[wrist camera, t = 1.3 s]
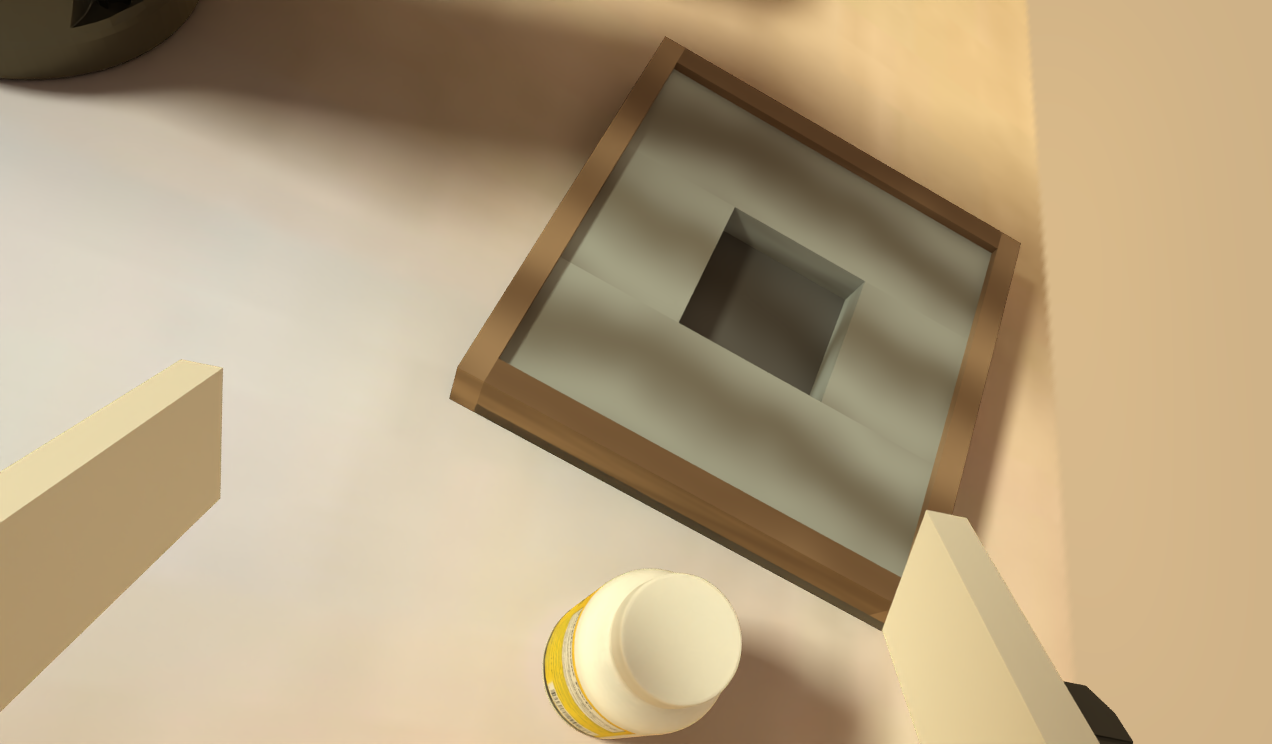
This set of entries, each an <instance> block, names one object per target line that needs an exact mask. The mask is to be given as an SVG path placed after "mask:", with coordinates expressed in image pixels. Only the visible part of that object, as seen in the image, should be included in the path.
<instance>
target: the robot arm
mask: <svg viewBox="0 0 1272 744" xmlns="http://www.w3.org/2000/svg"><path fill="white" fill-rule="evenodd" d="M198 1H199V0H0V78H6V79H52V78H62V77H70V76H76V75H82V74H87V73H91V72H95V71H100V70H103V69H106V68H110V67H113V66H116V65H119V64H121V63H124V62H126V61H129V60H131V59H133V58H136V57H138V56H140V55H142V54H143V53H145V52H147V51H149V50H151V49H152V48H154V47H156V46H157V45H159V44H160V43H161V42H163V41H164V40H166V39H167V38H168V37H169V36H171V35H172V34H173V33H174V32H175V31H176V30H177V29H178V28H179V27H180V26H181V25H182V24H183V23H184V22H185V21H186V19H187V18H188V17H189V16H190V14H191V13H192V11H193V10H194V8H195V7H196V5H197V3H198ZM222 383H223V368H221V367H216V366H211V365H206V364H201V363H196V362H191V361H186V360H182V359H181V360H179V361H178V362H176V363H175V364H173V365H171V366H170V367H168V368H167V369H165V370H163V371H162V372H160V373H158V374H157V375H155V376H154V377H152V378H150V379H149V380H147V381H146V382H144V383H142V384H141V385H139V386H138V387H136V388H134V389H133V390H131V391H130V392H128V393H126V394H125V395H123V396H121V397H120V398H118V399H117V400H115V401H113V402H112V403H110V404H109V405H107V406H105V407H104V408H102V409H101V410H99V411H97V412H96V413H94V414H93V415H91V416H89V417H88V418H86V419H85V420H83V421H81V422H80V423H78V424H76V425H75V426H73V427H72V428H70V429H68V430H67V431H65V432H64V433H62V434H60V435H59V436H57V437H56V438H54V439H52V440H51V441H49V442H48V443H46V444H44V445H43V446H41V447H39V448H38V449H36V450H35V451H33V452H31V453H30V454H28V455H27V456H25V457H23V458H22V459H20V460H19V461H17V462H15V463H14V464H12V465H11V466H9V467H7V468H6V469H4V470H2V471H1V472H0V712H1V711H2V710H3V709H4V708H5V707H6V706H7V705H8V704H9V703H10V702H11V701H12V700H13V699H14V698H15V697H16V696H17V695H18V694H19V693H20V692H21V691H22V690H23V689H24V688H25V687H26V686H27V685H28V684H29V683H30V682H32V681H33V680H34V679H35V678H36V677H37V676H38V675H39V674H40V673H41V672H42V671H43V670H44V669H45V668H46V667H47V666H48V665H49V664H50V663H51V662H52V661H53V660H54V659H55V658H56V657H57V656H58V655H59V654H60V653H61V652H62V651H63V650H64V649H65V648H67V647H68V646H69V645H70V644H71V643H72V642H73V641H74V640H75V639H76V638H77V637H78V636H79V635H80V634H81V633H82V632H83V631H84V630H85V629H86V628H87V627H88V626H89V625H90V624H91V623H92V622H93V621H94V620H95V619H96V618H97V617H98V616H99V615H101V614H102V613H103V612H104V611H105V610H106V609H107V608H108V607H109V606H110V605H111V604H112V603H113V602H114V601H115V600H116V599H117V598H118V597H119V596H120V595H121V594H122V593H123V592H124V591H125V590H126V589H127V588H128V587H129V586H130V585H131V584H132V583H133V582H134V581H136V580H137V579H138V578H139V577H140V576H141V575H142V574H143V573H144V572H145V571H146V570H147V569H148V568H149V567H150V566H151V565H152V564H153V563H154V562H155V561H156V560H157V559H158V558H159V557H160V556H161V555H162V554H163V553H164V552H165V551H166V550H167V549H168V548H170V547H171V546H172V545H173V544H174V543H175V542H176V541H177V540H178V539H179V538H180V537H181V536H182V535H183V534H184V533H185V532H186V531H187V530H188V529H189V528H190V527H191V526H192V525H193V524H194V523H195V522H196V521H197V520H198V519H199V518H200V517H201V516H202V515H204V514H205V513H206V512H207V511H208V510H209V509H210V508H211V507H212V506H213V505H214V504H215V503H216V502H217V501H218V500H219V499H220V485H221V434H222ZM882 631H883V634H884V637H885V640H886V643H887V646H888V649H889V652H890V655H891V658H892V661H893V664H894V667H895V670H896V673H897V676H898V679H899V682H900V685H901V688H902V691H903V694H904V697H905V700H906V703H907V706H908V709H909V712H910V715H911V719H912V722H913V725H914V728H915V731H916V734H917V737H918V740H919V743H920V744H1133V741H1132V739H1131V738H1130V736H1129V735H1128V733H1127V731H1126V730H1125V728H1124V727H1123V725H1122V724H1121V722H1120V720H1119V719H1118V717H1117V716H1116V714H1115V713H1114V712H1113V711H1112V710H1111V709H1110V708H1109V707H1107V705H1106V704H1105V703H1104V702H1102V701H1101V700H1100V699H1099V698H1098V697H1097V696H1096V695H1095V694H1094V693H1093V692H1092V691H1091V690H1090V689H1089V688H1088V687H1087V686H1084V685H1079V684H1074V683H1069V682H1064V681H1063V680H1062V679H1061V677H1060V675H1059V674H1058V672H1057V670H1056V668H1055V667H1054V665H1053V663H1052V662H1051V660H1050V658H1049V657H1048V655H1047V653H1046V652H1045V650H1044V648H1043V646H1042V645H1041V643H1040V641H1039V640H1038V638H1037V636H1036V635H1035V633H1034V631H1033V629H1032V628H1031V626H1030V624H1029V623H1028V621H1027V619H1026V618H1025V616H1024V614H1023V612H1022V611H1021V609H1020V607H1019V606H1018V604H1017V602H1016V601H1015V599H1014V597H1013V596H1012V594H1011V592H1010V590H1009V589H1008V587H1007V585H1006V584H1005V582H1004V580H1003V579H1002V577H1001V575H1000V573H999V572H998V570H997V568H996V567H995V565H994V563H993V562H992V560H991V558H990V557H989V555H988V553H987V551H986V550H985V548H984V546H983V545H982V543H981V541H980V540H979V538H978V536H977V534H976V533H975V531H974V529H973V528H972V526H971V524H970V523H969V521H968V519H967V518H964V517H959V516H954V515H950V514H945V513H940V512H935V511H930V510H926V512H925V515H924V518H923V520H922V523H921V526H920V528H919V531H918V534H917V537H916V539H915V542H914V545H913V548H912V550H911V553H910V556H909V558H908V561H907V564H906V567H905V569H904V572H903V575H902V577H901V580H900V583H899V586H898V588H897V591H896V594H895V596H894V599H893V602H892V605H891V607H890V610H889V613H888V615H887V618H886V621H885V624H884V626H883V629H882Z"/></svg>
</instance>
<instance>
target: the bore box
mask: <svg viewBox="0 0 1272 744" xmlns="http://www.w3.org/2000/svg"><path fill="white" fill-rule="evenodd" d="M1020 245H1021V243H1019V242H1018V241H1016V240H1014V239H1012V238H1011V237H1009V236H1007V235H1006V234H1004V233H1002V232H1000V231H999V230H997V229H995V228H994V227H992V226H990V225H988V224H987V223H985V222H983V221H982V220H980V219H978V218H976V217H975V216H973V215H971V214H970V213H968V212H966V211H964V210H963V209H961V208H959V207H958V206H956V205H954V204H952V203H951V202H949V201H947V200H946V199H944V198H942V197H940V196H939V195H937V194H935V193H934V192H932V191H930V190H928V189H927V188H925V187H923V186H922V185H920V184H918V183H916V182H915V181H913V180H911V179H909V178H908V177H906V176H904V175H903V174H901V173H899V172H897V171H896V170H894V169H892V168H891V167H889V166H887V165H885V164H884V163H882V162H880V161H879V160H877V159H875V158H873V157H872V156H870V155H868V154H867V153H865V152H863V151H861V150H860V149H858V148H856V147H855V146H853V145H851V144H849V143H848V142H846V141H844V140H843V139H841V138H839V137H837V136H836V135H834V134H832V133H831V132H829V131H827V130H825V129H824V128H822V127H820V126H819V125H817V124H815V123H813V122H812V121H810V120H808V119H807V118H805V117H803V116H801V115H800V114H798V113H796V112H794V111H793V110H791V109H789V108H788V107H786V106H784V105H782V104H781V103H779V102H777V101H776V100H774V99H772V98H770V97H769V96H767V95H765V94H764V93H762V92H760V91H758V90H757V89H755V88H753V87H752V86H750V85H748V84H746V83H745V82H743V81H741V80H740V79H738V78H736V77H734V76H733V75H731V74H729V73H728V72H726V71H724V70H722V69H721V68H719V67H717V66H716V65H714V64H712V63H710V62H709V61H707V60H705V59H704V58H702V57H700V56H698V55H697V54H695V53H693V52H692V51H690V50H688V49H686V48H685V47H683V46H681V45H679V44H678V43H676V42H674V41H673V40H671V39H669V38H667V37H666V36H665V38H664V40H663V41H662V43H661V44H660V46H659V48H658V49H657V51H656V52H655V54H654V55H653V57H652V59H651V60H650V62H649V63H648V65H647V67H646V68H645V70H644V71H643V73H642V75H641V76H640V78H639V79H638V81H637V82H636V84H635V86H634V87H633V89H632V90H631V92H630V94H629V95H628V97H627V98H626V100H625V102H624V103H623V105H622V106H621V108H620V110H619V111H618V113H617V114H616V116H615V117H614V119H613V121H612V122H611V124H610V125H609V127H608V129H607V130H606V132H605V133H604V135H603V137H602V138H601V140H600V141H599V143H598V144H597V146H596V148H595V149H594V151H593V152H592V154H591V156H590V157H589V159H588V160H587V162H586V164H585V165H584V167H583V168H582V170H581V172H580V173H579V175H578V176H577V178H576V179H575V181H574V183H573V184H572V186H571V187H570V189H569V191H568V192H567V194H566V195H565V197H564V199H563V200H562V202H561V203H560V205H559V206H558V208H557V210H556V211H555V213H554V214H553V216H552V218H551V219H550V221H549V222H548V224H547V226H546V227H545V229H544V230H543V232H542V234H541V235H540V237H539V238H538V240H537V241H536V243H535V245H534V246H533V248H532V249H531V251H530V253H529V254H528V256H527V257H526V259H525V261H524V262H523V264H522V265H521V267H520V268H519V270H518V272H517V273H516V275H515V276H514V278H513V280H512V281H511V283H510V284H509V286H508V288H507V289H506V291H505V292H504V294H503V296H502V297H501V299H500V300H499V302H498V303H497V305H496V307H495V308H494V310H493V311H492V313H491V315H490V316H489V318H488V319H487V321H486V323H485V324H484V326H483V327H482V329H481V330H480V332H479V334H478V335H477V337H476V338H475V340H474V342H473V343H472V345H471V346H470V348H469V350H468V351H467V353H466V354H465V356H464V358H463V359H462V361H461V362H460V364H459V365H458V367H457V371H456V375H455V379H454V383H453V387H452V390H451V394H450V398H449V399H451V400H453V401H455V402H457V403H459V404H460V405H462V406H464V407H466V408H468V409H470V410H472V411H473V412H475V413H477V414H479V415H481V416H483V417H485V418H486V419H488V420H490V421H492V422H494V423H496V424H498V425H499V426H501V427H503V428H505V429H507V430H509V431H511V432H513V433H514V434H516V435H518V436H520V437H522V438H524V439H526V440H527V441H529V442H531V443H533V444H535V445H537V446H539V447H540V448H542V449H544V450H546V451H548V452H550V453H552V454H553V455H555V456H557V457H559V458H561V459H563V460H565V461H566V462H568V463H570V464H572V465H574V466H576V467H578V468H579V469H581V470H583V471H585V472H587V473H589V474H591V475H592V476H594V477H596V478H598V479H600V480H602V481H604V482H605V483H607V484H609V485H611V486H613V487H615V488H617V489H619V490H620V491H622V492H624V493H626V494H628V495H630V496H632V497H633V498H635V499H637V500H639V501H641V502H643V503H645V504H646V505H648V506H650V507H652V508H654V509H656V510H658V511H659V512H661V513H663V514H665V515H667V516H669V517H671V518H672V519H674V520H676V521H678V522H680V523H682V524H684V525H685V526H687V527H689V528H691V529H693V530H695V531H697V532H698V533H700V534H702V535H704V536H706V537H708V538H710V539H711V540H713V541H715V542H717V543H719V544H721V545H723V546H725V547H726V548H728V549H730V550H732V551H734V552H736V553H738V554H739V555H741V556H743V557H745V558H747V559H749V560H751V561H752V562H754V563H756V564H758V565H760V566H762V567H764V568H765V569H767V570H769V571H771V572H773V573H775V574H777V575H778V576H780V577H782V578H784V579H786V580H788V581H790V582H791V583H793V584H795V585H797V586H799V587H801V588H803V589H804V590H806V591H808V592H810V593H812V594H814V595H816V596H817V597H819V598H821V599H823V600H825V601H827V602H829V603H831V604H832V605H834V606H836V607H838V608H840V609H842V610H844V611H845V612H847V613H849V614H851V615H853V616H855V617H857V618H858V619H860V620H862V621H864V622H866V623H868V624H870V625H871V626H873V627H875V628H877V629H879V630H882V629H883V626H884V624H885V621H886V618H887V615H888V613H889V610H890V607H891V605H892V602H893V599H894V596H895V594H896V591H897V588H898V586H899V583H900V580H901V577H902V575H903V572H904V569H905V567H906V564H907V561H908V558H909V556H910V553H911V550H912V548H913V545H914V542H915V539H916V537H917V534H918V531H919V528H920V526H921V523H922V520H923V518H924V515H925V512H926V510H930V511H935V512H940V513H945V514H950V515H952V513H953V509H954V505H955V501H956V497H957V493H958V489H959V485H960V481H961V477H962V473H963V469H964V465H965V461H966V458H967V454H968V450H969V446H970V442H971V438H972V434H973V430H974V426H975V422H976V418H977V414H978V410H979V406H980V402H981V398H982V394H983V391H984V387H985V383H986V379H987V375H988V371H989V367H990V363H991V359H992V355H993V351H994V347H995V343H996V339H997V335H998V331H999V328H1000V324H1001V320H1002V316H1003V312H1004V308H1005V304H1006V300H1007V296H1008V292H1009V288H1010V284H1011V280H1012V276H1013V272H1014V268H1015V264H1016V261H1017V257H1018V253H1019V249H1020Z"/></svg>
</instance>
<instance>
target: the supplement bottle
mask: <svg viewBox="0 0 1272 744" xmlns="http://www.w3.org/2000/svg"><path fill="white" fill-rule="evenodd" d="M741 651H742V636H741V629H740V624H739V621H738V618H737V616H736V613H735V611H734V609H733V607H732V605H731V604H730V602H729V601H728V600H727V598H726V597H725V596H724V595H723V594H722V592H721V591H720V590H719V589H718V588H716V587H715V586H714V585H712V584H711V583H709V582H708V581H706V580H704V579H702V578H700V577H697V576H694V575H691V574H685V573H674V572H671V571H667V570H662V569H639V570H634V571H630V572H627V573H624V574H622V575H620V576H618V577H616V578H614V579H612V580H610V581H609V582H607V583H606V584H604V585H603V586H602V587H600V588H599V589H598V590H597V591H595V592H594V593H592V594H591V595H589V596H588V597H587V598H586V599H584V600H583V601H581V602H580V603H579V604H577V605H576V606H575V607H573V608H572V609H571V610H569V611H568V612H567V613H566V614H565V615H564V616H563V617H562V618H561V619H560V620H559V622H558V623H557V624H556V626H555V627H554V629H553V630H552V632H551V634H550V636H549V638H548V641H547V643H546V646H545V650H544V654H543V661H542V676H543V683H544V687H545V691H546V694H547V697H548V699H549V701H550V703H551V705H552V707H553V708H554V710H555V711H556V713H557V714H558V715H559V716H560V717H561V719H562V720H563V721H564V722H565V723H567V724H568V725H569V726H570V727H572V728H573V729H575V730H576V731H578V732H580V733H582V734H584V735H587V736H590V737H594V738H600V739H619V738H630V737H640V736H650V735H663V734H668V733H673V732H676V731H679V730H682V729H684V728H687V727H688V726H690V725H692V724H694V723H695V722H697V721H698V720H699V719H701V718H702V717H703V716H704V715H705V714H706V713H707V712H708V711H709V710H710V709H711V708H712V706H713V705H714V704H715V702H716V701H717V699H718V697H719V695H720V694H721V692H722V691H723V690H724V689H725V688H726V687H727V685H728V684H729V683H730V681H731V680H732V678H733V677H734V675H735V673H736V671H737V668H738V665H739V662H740V658H741Z"/></svg>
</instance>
